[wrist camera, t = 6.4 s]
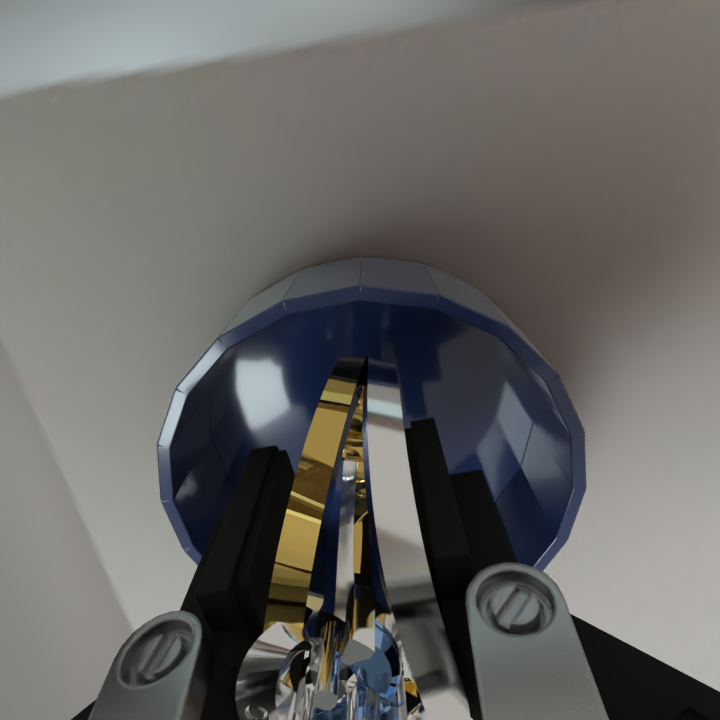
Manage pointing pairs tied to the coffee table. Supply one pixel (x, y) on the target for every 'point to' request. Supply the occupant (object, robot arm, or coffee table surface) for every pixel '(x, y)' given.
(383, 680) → the ring
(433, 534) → the robot arm
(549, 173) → the coffee table surface
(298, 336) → the blue round dish
